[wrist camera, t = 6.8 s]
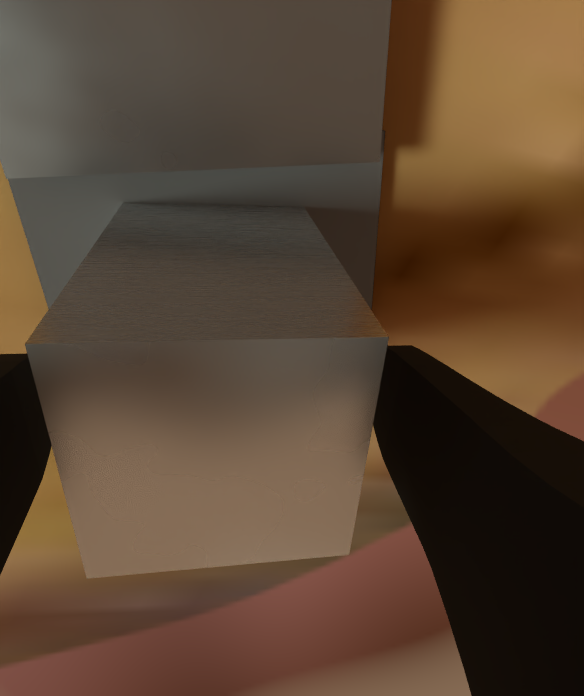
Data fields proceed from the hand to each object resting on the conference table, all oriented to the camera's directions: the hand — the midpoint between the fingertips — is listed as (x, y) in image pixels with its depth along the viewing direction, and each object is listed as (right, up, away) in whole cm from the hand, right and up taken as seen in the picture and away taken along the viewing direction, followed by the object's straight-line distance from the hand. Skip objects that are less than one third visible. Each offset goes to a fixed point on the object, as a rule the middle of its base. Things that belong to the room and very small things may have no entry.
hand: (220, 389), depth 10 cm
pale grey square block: (0, +3, +3) cm, 4 cm away
